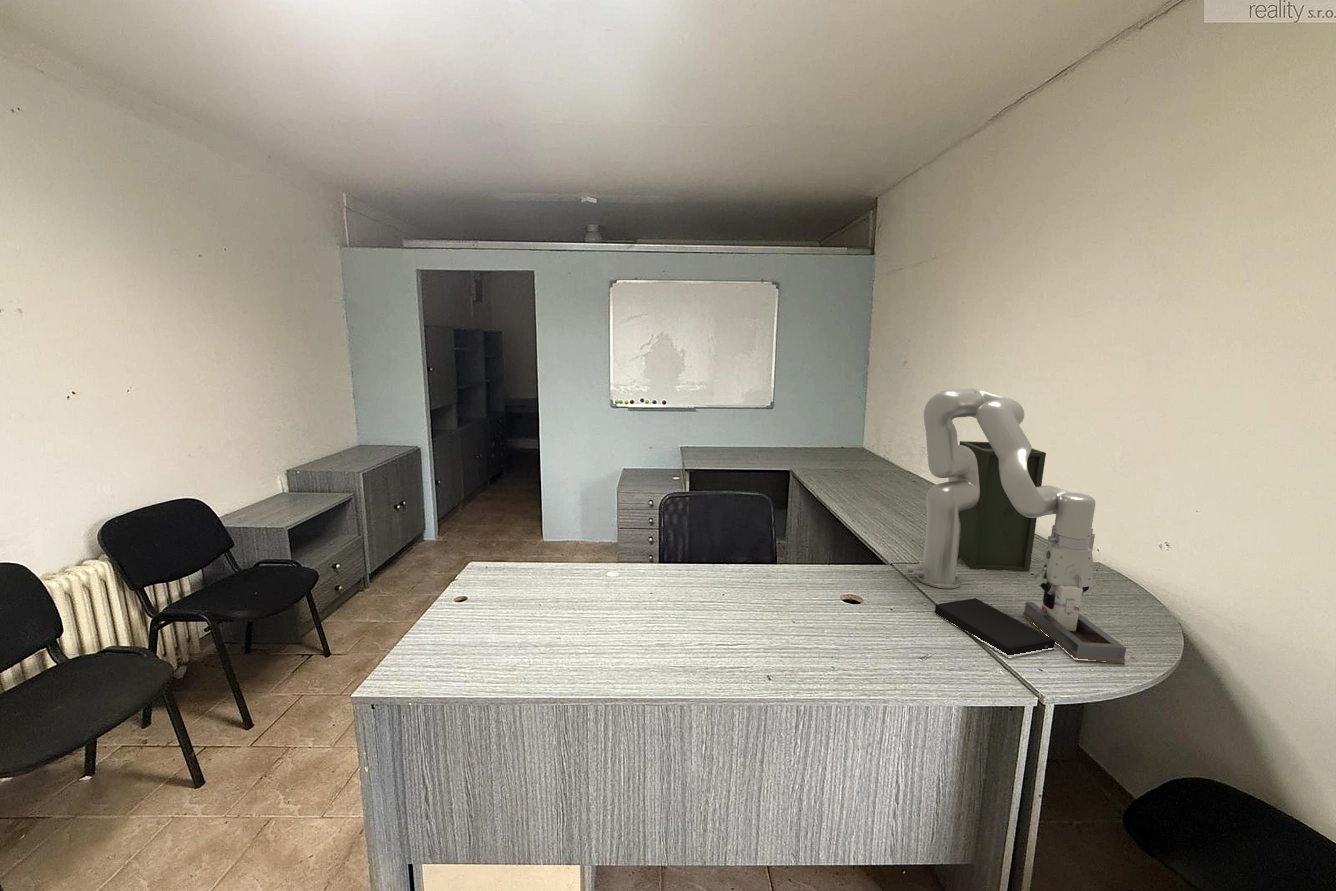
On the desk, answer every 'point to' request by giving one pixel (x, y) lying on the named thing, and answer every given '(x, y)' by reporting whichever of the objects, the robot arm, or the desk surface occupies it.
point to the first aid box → (997, 517)
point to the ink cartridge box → (1066, 605)
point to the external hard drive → (994, 626)
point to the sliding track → (1077, 637)
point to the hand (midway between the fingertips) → (1060, 606)
